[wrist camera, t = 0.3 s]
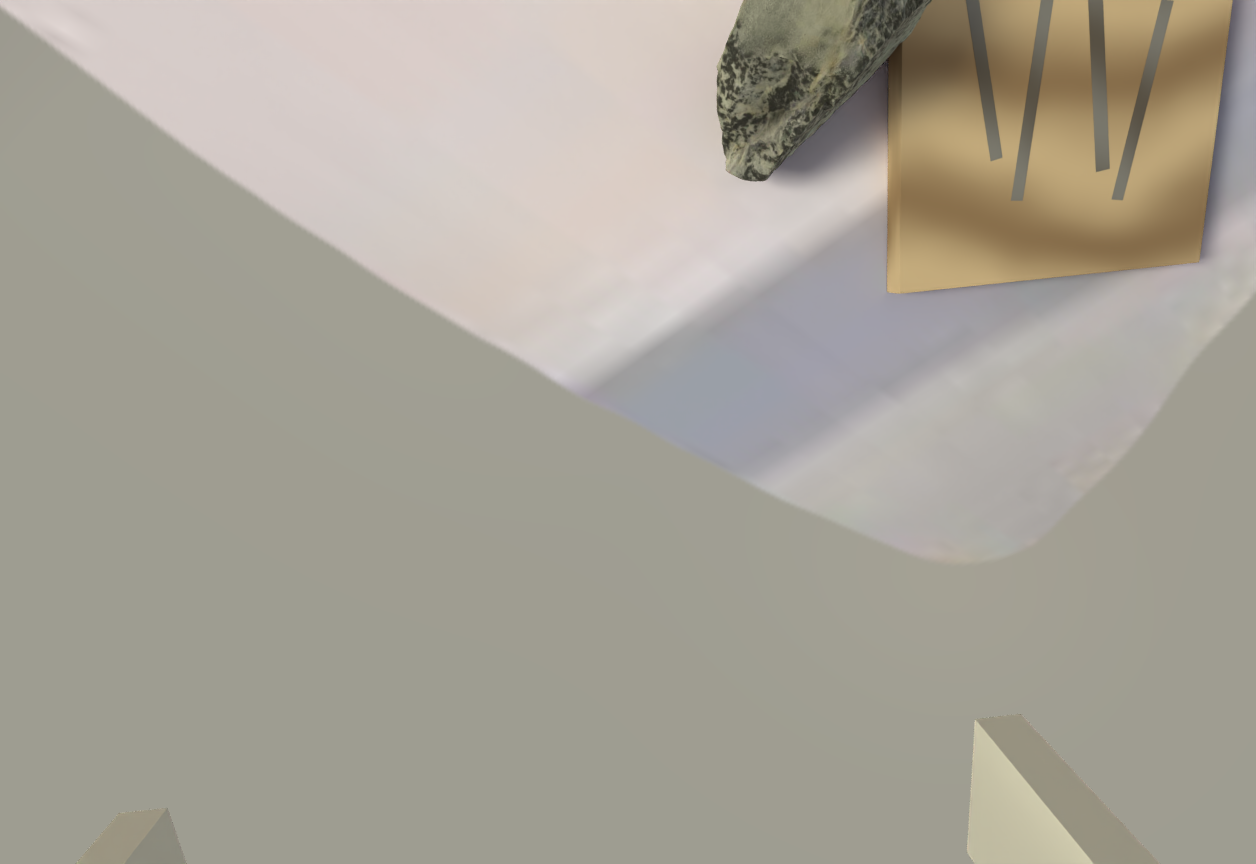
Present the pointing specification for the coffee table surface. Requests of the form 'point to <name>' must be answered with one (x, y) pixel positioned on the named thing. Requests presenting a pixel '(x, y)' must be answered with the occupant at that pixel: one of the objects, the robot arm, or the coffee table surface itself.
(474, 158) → the coffee table surface
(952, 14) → the board
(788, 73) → the stone
